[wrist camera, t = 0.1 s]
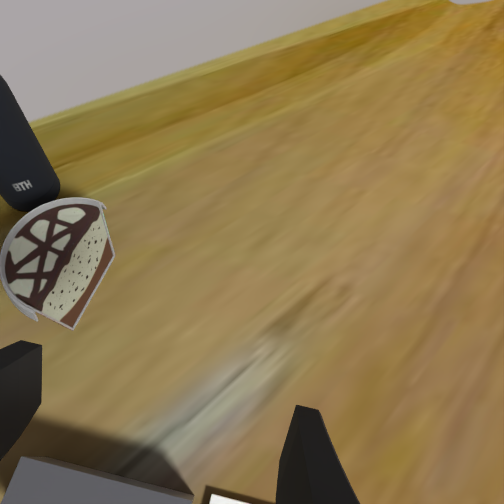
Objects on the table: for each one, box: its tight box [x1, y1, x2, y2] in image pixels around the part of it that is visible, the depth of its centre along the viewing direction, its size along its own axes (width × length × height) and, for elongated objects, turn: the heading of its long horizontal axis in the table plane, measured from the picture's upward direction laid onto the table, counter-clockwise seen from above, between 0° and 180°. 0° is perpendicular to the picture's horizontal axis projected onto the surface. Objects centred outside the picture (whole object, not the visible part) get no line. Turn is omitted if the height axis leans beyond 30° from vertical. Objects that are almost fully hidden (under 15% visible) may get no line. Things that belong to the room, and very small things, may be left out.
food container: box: [0, 198, 115, 331], centre depth 42 cm, size 12×6×10 cm, turn 161°
